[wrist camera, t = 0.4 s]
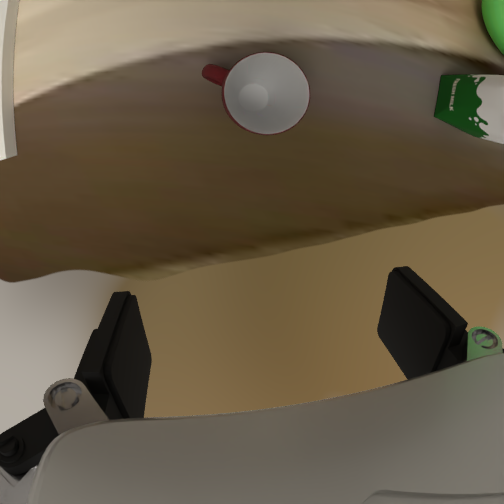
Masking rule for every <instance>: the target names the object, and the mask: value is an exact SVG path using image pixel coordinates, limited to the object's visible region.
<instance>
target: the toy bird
mask: <svg viewBox="0 0 504 504" xmlns="http://www.w3.org/2000/svg"><path fill="white" fill-rule="evenodd" d="M482 16H483V20H484V23H485V26H486V28H487V31H488V33H489V35H490V37H491V38H492V40H493V42H494V43H495V45H496V46H497V47H498V49H499V50H500V51H501V53H502V54H503V55H504V0H482Z"/></svg>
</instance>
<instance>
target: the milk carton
mask: <svg viewBox="0 0 504 504" xmlns="http://www.w3.org/2000/svg"><path fill="white" fill-rule="evenodd" d="M434 117H436V118H438V119H440V120H442V121H444V122H446V123H448V124H450V125H452V126H454V127H456V128H458V129H460V130H462V131H464V132H466V133H468V134H470V135H472V136H475V137H478V138H482V139H486V140H490V141H494V142H498V143H502V144H504V75H467V74H466V75H441V80H440V86H439V92H438V98H437V103H436V108H435V114H434Z"/></svg>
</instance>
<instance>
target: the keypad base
mask: <svg viewBox="0 0 504 504" xmlns="http://www.w3.org/2000/svg"><path fill="white" fill-rule="evenodd" d="M18 6H19V0H0V160H3V159H7V158H10V157H13V156H16V155H17V147H16V137H15V123H14V103H13V64H14V44H15V32H16V22H17V13H18Z"/></svg>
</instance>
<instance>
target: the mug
mask: <svg viewBox="0 0 504 504" xmlns="http://www.w3.org/2000/svg"><path fill="white" fill-rule="evenodd" d="M202 76H203V77H204V78H205V79H207V80H209V81H211V82H213V83H215V84H218V85H220V86H222V101H223V105H224V108H225V110H226V112H227V114H228V116H229V117H230V118H231V119H232V121H233V122H234V123H236V124H237V125H238V126H239V127H241V128H243V129H244V130H247V131H249V132H252V133H256V134H261V135H274V134H279V133H282V132H285V131H287V130H289V129H291V128H292V127H294V126H295V125H296V124H297V123H298V122H299V121H300V120H301V119H302V118H303V116H304V115H305V113H306V111H307V109H308V106H309V102H310V87H309V83H308V80H307V78H306V76H305V74H304V72H303V71H302V69H301V68H300V67H299V66H298V65H297V64H296V63H295V62H294V61H292V60H291V59H289V58H287V57H285V56H283V55H281V54H277V53H272V52H259V53H254V54H251V55H248V56H246V57H244V58H242V59H241V60H240V61H238V62H237V63H236V64H235V65H234V66H233V67H232V68H231V69H230V70H227V69H224V68H222V67H219V66H217V65H213V64H208V65H206V66H205V67H204V68H203V70H202Z"/></svg>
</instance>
